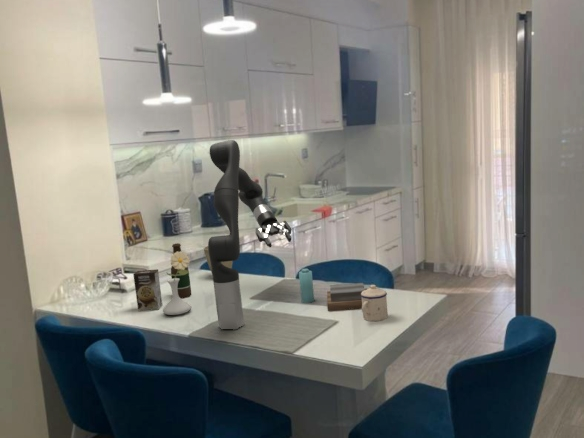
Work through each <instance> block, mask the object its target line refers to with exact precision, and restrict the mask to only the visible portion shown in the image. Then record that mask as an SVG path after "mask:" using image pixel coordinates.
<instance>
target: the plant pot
mask: <svg viewBox="0 0 584 438" xmlns="http://www.w3.org/2000/svg"><path fill="white" fill-rule="evenodd" d="M203 251H204V255H205V259H206V262H207V264H208V268H209V271H210V272H211V273H212V268H211V262H210V256H209V250H208V245H207V246H204V247H203ZM233 262H234V261H225V262H221V263H222V264H223V265H224V266H226V267H228V268H231V269H233V264H234V263H233Z"/></svg>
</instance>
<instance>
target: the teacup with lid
mask: <svg viewBox="0 0 584 438" xmlns="http://www.w3.org/2000/svg"><path fill="white" fill-rule="evenodd" d="M387 295H388V294H387V291H386V290H385V289H383V288H382V289H381V288H379V287H377V285H375V284H371V285H370V286H369V287H368V288H367V290H364V291H363V292H362V293H361V297H362V309H361V312H362V318H363V319H364V320H366V321H369V322H381V321H384V320H386V319H387V318H388V317H389V316H388V301H387Z"/></svg>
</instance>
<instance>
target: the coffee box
mask: <svg viewBox="0 0 584 438" xmlns="http://www.w3.org/2000/svg"><path fill="white" fill-rule="evenodd" d="M133 281H134V290H135V298H136V305H137V311H138V312H146V311H158V310H160V309H161V308H162V307H163V302H162V301H163V299H162V292H161V284H160V283H161V282H160V274H159V269H157V268H156V269H146V270H145V269H144V270H137V271H135V272H134V273H133Z"/></svg>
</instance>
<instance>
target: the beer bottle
mask: <svg viewBox="0 0 584 438" xmlns="http://www.w3.org/2000/svg"><path fill="white" fill-rule="evenodd" d="M181 245H182V244H181V243H173V244H172V251H173V253H172V255H174V253H176V252H177V251H178V252H180V251H181V252H182V249H181V248H182V247H181ZM170 268H171V269H170V274H174V275H175V276H176V274H177V276H176V278H179V279H180V280H179V282H178V286H177V290H178V295H179V297H180V298H181V299H182V300H183V299H186V298H190V297H191V296H192V286H191V280H190V279H191V277H190V271H189V266H188V267H187V268H185V270H187V271H188V272H189V273H187V274H185V275H181V274H179V273H177V271H179V270H178V269H175V268H174V267H173V266H172V265H171V267H170ZM180 270H181V269H180ZM175 276H170V277H171V279H173V278H175Z"/></svg>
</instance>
